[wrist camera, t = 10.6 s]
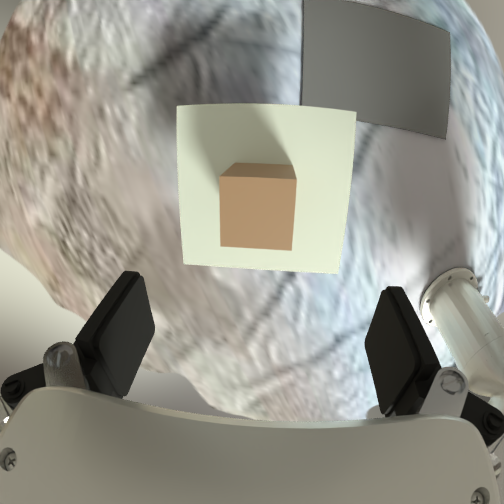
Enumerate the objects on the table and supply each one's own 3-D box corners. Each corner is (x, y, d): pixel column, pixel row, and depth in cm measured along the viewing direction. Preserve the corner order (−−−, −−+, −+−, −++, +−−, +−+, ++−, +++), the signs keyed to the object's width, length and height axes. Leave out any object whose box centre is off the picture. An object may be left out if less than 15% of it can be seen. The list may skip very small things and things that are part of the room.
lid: (353, 112, 20) (382, 109, 14) (336, 268, 26) (350, 314, 20) (180, 106, 21) (143, 102, 15) (186, 259, 27) (160, 300, 21)
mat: (447, 32, 22) (449, 32, 22) (443, 138, 30) (445, 139, 30) (303, -4, 23) (304, -6, 23) (301, 114, 31) (301, 114, 30)
